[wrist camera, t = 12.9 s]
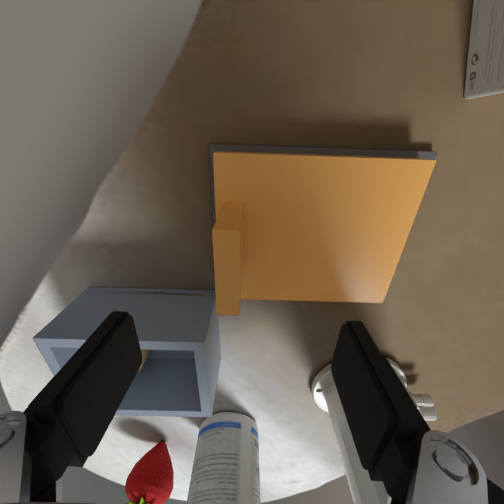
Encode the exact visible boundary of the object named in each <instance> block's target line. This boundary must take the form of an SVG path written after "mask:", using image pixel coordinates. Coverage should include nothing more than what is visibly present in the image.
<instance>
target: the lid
mask: <svg viewBox="0 0 504 504" xmlns="http://www.w3.org/2000/svg"><path fill="white" fill-rule="evenodd" d="M435 163H436V160H430V159H422V158H402V157H372V156H343V155H313V154H284V153H255V152H225V151H216V152H213V165H214V188H215V210H216V223H215V225H214V227H213V229H212V237H213V255H214V274H215V293H216V311H217V315H239V313H240V300H241V299H253V300H289V301H325V302H362V303H383V301H384V298H385V296H386V293H387V290H388V288H389V285H390V283H391V280H392V277H393V275H394V272H395V269H396V267H397V264H398V261H399V259H400V256H401V253H402V251H403V248H404V245H405V243H406V240H407V237H408V235H409V232H410V229H411V227H412V224H413V221H414V219H415V216H416V214H417V211H418V208H419V206H420V203H421V200H422V198H423V195H424V192H425V190H426V187H427V184H428V182H429V179H430V176H431V174H432V171H433V168H434V166H435Z"/></svg>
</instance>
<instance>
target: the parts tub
mask: <svg viewBox="0 0 504 504" xmlns="http://www.w3.org/2000/svg"><path fill="white" fill-rule="evenodd" d="M113 311H126V312H128V313H129V315H132V317H133V320H134V324H135V328H136V332H137V336H138V340H139V344H140V348H141V352H142V356H143V361H142V364H141V367H140V368H139V370H138V372H137V374H136V376H135V378H134V380H133V382H132V383H131V385H130V387H129V389H128V391H127V393H126V395H125V396H124V398H123V400H122V402H121V404H120V406H119V408H118V410H117V411H116V413H115V415H131V416H176V417H212V413H213V406H214V400H215V393H216V386H217V379H218V373H219V366H220V359H221V356H220V335H219V315H217V311H216V293H215V291H213V290H177V289H140V288H104V287H88V288H87V289H86V290H85V291H84V292H83V293H82V294H81V295H80V296H78V297H77V298H76V299H75V300H74V301H73V302H72V303H71V304H70V305H69V306H67V307H66V308H65V309H64V310H63V311H62V312H61V313H60V314H59V315H57V316H56V317H55V318H54V319H53V320H52V321H51V322H50V323H49V324H48V325H46V326H45V327H44V328H43V329H42V330H41V331H40V332H39V333H38V334H36V335H35V336H34V337H33V338H32V339H33V340H34V342H35V344H36V346H37V347H38V349H39V351H40V352H41V354H42V356H43V358H44V359H45V361H46V363H47V364H48V366H49V368H50V370H51V371H52V373H53V375H54V376H55V375H56V374H57V373H58V372H59V370H60V369H61V368H62V367H63V366H64V365H65V364H66V363H67V361H68V360H69V359H70V358H71V357H72V356H73V355H74V354H75V352H76V351H77V350H78V349H79V348H80V347H81V346H82V345H83V343H84V342H85V341H86V340H87V339H88V338H89V337H90V336H91V334H92V333H93V332H94V331H95V330H96V329H97V328H98V327H99V325H100V324H101V323H102V322H103V321H104V320H105V319H106V318H107V316H108V315H109V314H110V313H111V312H113Z"/></svg>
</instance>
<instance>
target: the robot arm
mask: <svg viewBox="0 0 504 504" xmlns="http://www.w3.org/2000/svg"><path fill="white" fill-rule="evenodd" d="M142 361H143V356H142V352H141V348H140V344H139V340H138V336H137V332H136V328H135V324H134V320H133V317H132V315H129V313H128V312H126V311H113V312H111V313H110V314H109V315H108V316H107V318H106V319H105V320H104V321H103V322H102V323H101V324H100V325H99V327H98V328H97V329H96V330H95V331H94V332H93V333H92V334H91V336H90V337H89V338H88V339H87V340H86V341H85V342H84V343H83V345H82V346H81V347H80V348H79V349H78V350H77V351H76V352H75V354H74V355H73V356H72V357H71V358H70V359H69V360H68V361H67V363H66V364H65V365H64V366H63V367H62V368H61V369H60V370H59V372H58V373H57V374H56V375H55V376H54V377H53V378H52V379H51V381H50V382H49V383H48V384H47V385H46V386H45V387H44V388H43V390H42V391H41V392H40V393H39V394H38V395H37V396H36V397H35V399H34V400H33V401H32V402H31V403H30V404H29V405H28V408H27V409H26V410H25V411H24V412H20V411H11V412H6V413H4V414H1V415H0V504H93V503H62V481H61V477H62V475H63V473H64V472H65V470H66V468H67V467H68V466H76V467H83V465H84V463H85V462H86V460H87V458H88V456H91V455H92V454H93V453H94V452H95V450H96V449H97V447H98V445H99V443H100V441H101V439H102V438H103V436H104V434H105V432H106V430H107V428H108V426H109V424H110V423H111V421H112V419H113V417H114V415H115V413H116V411H117V410H118V408H119V406H120V404H121V402H122V400H123V398H124V396H125V395H126V393H127V391H128V389H129V387H130V385H131V383H132V382H133V380H134V378H135V376H136V374H137V372H138V370H139V368H140V367H141V364H142ZM406 386H407V379H406V376H405V374H404V372H403V371H402V369H401V368H400V366H399V365H398V364H396V363H395V362H394V361H392V360H390V359H388V358H386V357H385V356H384V355H383V354H381V353H380V351H379V350H378V348H377V346H376V345H375V343H374V341H373V340H372V338H371V336H370V334H369V333H368V331H367V329H366V328H365V326H364V324H363V323H362V322H361V321H346V323H345V324H342V326H341V330H340V334H339V337H338V341H337V345H336V349H335V352H334V356H333V360H332V363H330V364H328V365H327V366H326V367H324V368H323V369H322V370H321V371H320V372H319V373H318V374H317V375H316V376H315V378H314V380H313V382H312V389H311V390H312V395H313V399H314V401H315V403H316V404H317V405H318V406H319V407H320V408H321V409H323V410H324V411H326V412H328V413H329V415H330V418H331V422H332V426H333V429H334V433H335V436H336V440H337V444H338V447H339V451H340V455H341V458H342V462H343V465H344V469H345V473H346V476H347V480H348V483H349V487H350V490H351V494H352V498H353V501H354V504H504V490H502V489H501V488H500V487H498V486H497V485H495V484H494V483H493V482H491V481H490V480H488V479H487V478H486V476H485V472H484V470H483V468H482V466H481V464H480V463H479V461H478V460H477V459H476V457H475V456H474V455H473V453H472V452H471V451H470V450H469V449H468V448H467V447H466V446H465V445H464V444H462V443H461V442H460V441H458V440H457V439H456V438H454V437H453V436H451V435H449V434H447V433H445V432H441V431H437V430H430V428H429V426H428V425H427V423H426V422H425V420H427V421H435V420H436V419H437V414H436V411H435V409H434V407H433V405H434V402H433V399H432V397H431V396H430V395H428V394H412V393H411V392H409V391H408V389H407V387H406Z"/></svg>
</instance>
